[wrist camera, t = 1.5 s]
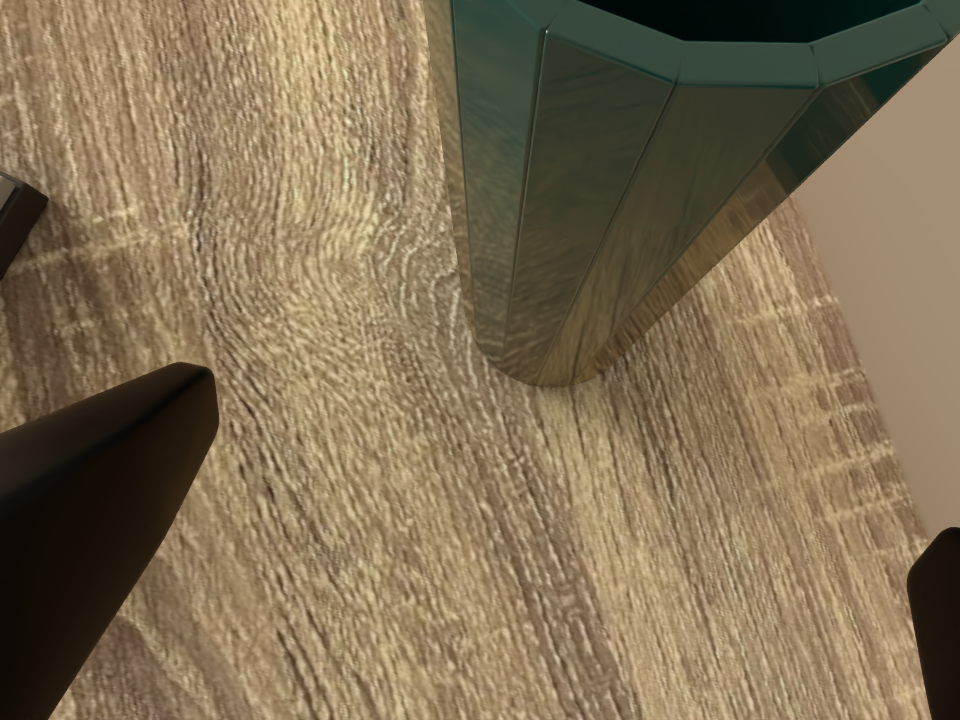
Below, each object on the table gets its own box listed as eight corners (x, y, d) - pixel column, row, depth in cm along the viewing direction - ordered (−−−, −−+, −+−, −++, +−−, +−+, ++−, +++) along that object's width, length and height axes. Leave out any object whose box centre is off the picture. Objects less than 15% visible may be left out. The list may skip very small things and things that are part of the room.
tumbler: (598, 415, 20) (962, 193, 5) (437, 345, 21) (289, -67, 5) (662, 261, 21) (1144, -351, 6) (506, 197, 22) (556, -528, 6)
